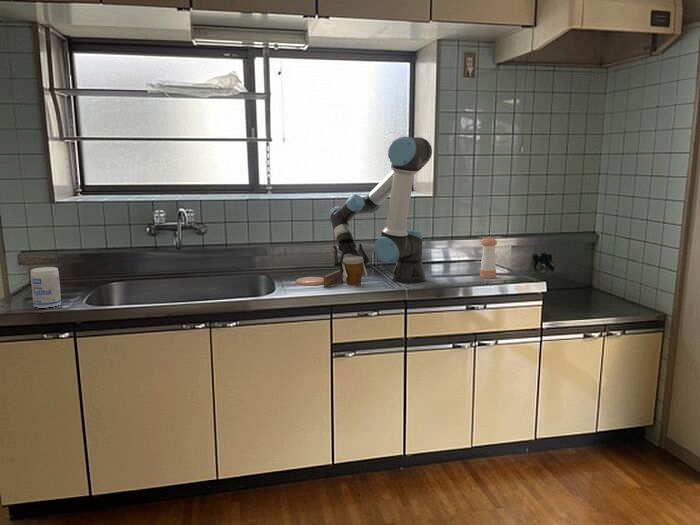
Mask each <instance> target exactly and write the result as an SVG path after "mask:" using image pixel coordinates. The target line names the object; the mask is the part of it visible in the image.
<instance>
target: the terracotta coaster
mask: <svg viewBox="0 0 700 525" xmlns="http://www.w3.org/2000/svg"><path fill="white" fill-rule="evenodd" d="M295 284H297V285H301V286H321V284H322V285H324V277H321V276H305V277H300V278H297V279H296V280H295Z"/></svg>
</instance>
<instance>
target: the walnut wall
mask: <svg viewBox="0 0 700 525" xmlns="http://www.w3.org/2000/svg"><path fill="white" fill-rule="evenodd" d="M323 278H324V284H323V288H325V289H327V288H330V287H331V286H335V285H336V284H338V283H340V281H341V282H343V281H344V276H343V273H341V272H340V269H338V270H336V271H334V272H331V273H329V274H325V275H323Z"/></svg>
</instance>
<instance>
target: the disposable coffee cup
mask: <svg viewBox="0 0 700 525" xmlns="http://www.w3.org/2000/svg"><path fill="white" fill-rule="evenodd" d="M363 262H364V259H363V257H362V256H353V255H347V256H344V258H343V262H342V263H343V264H344V266H345V269H346V273H347V279H346V280H345V281H346V285H347V286H360V285H361V283H362V275H363V272H362V269H363Z"/></svg>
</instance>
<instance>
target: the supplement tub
mask: <svg viewBox="0 0 700 525" xmlns="http://www.w3.org/2000/svg"><path fill="white" fill-rule="evenodd" d="M60 284H61V283H60V272H59V268H58V267H55V266H43V267H36V268H32V269H30V285H31V295H32V305H33V307H34V308H35V307H38V308H46V307H53V308H56V307H55V306H57V307H59V306H61V305H62V296H61V295H62V294H61V285H60ZM58 305H59V306H58ZM38 308H37V309H38Z"/></svg>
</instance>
